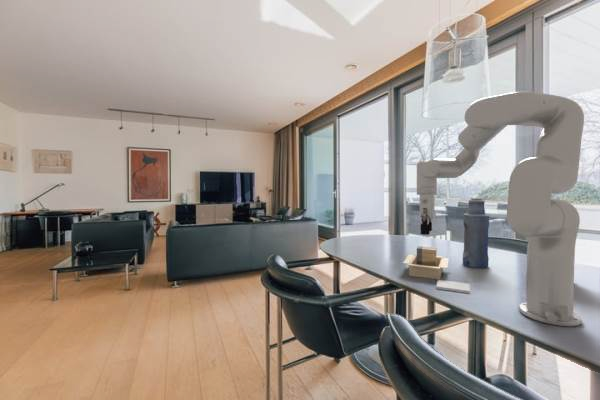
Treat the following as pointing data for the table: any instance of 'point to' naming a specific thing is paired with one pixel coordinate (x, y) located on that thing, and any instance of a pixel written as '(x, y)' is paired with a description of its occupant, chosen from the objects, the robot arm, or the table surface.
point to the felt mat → (453, 286)
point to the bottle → (476, 235)
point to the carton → (426, 267)
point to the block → (426, 256)
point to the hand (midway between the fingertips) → (426, 232)
